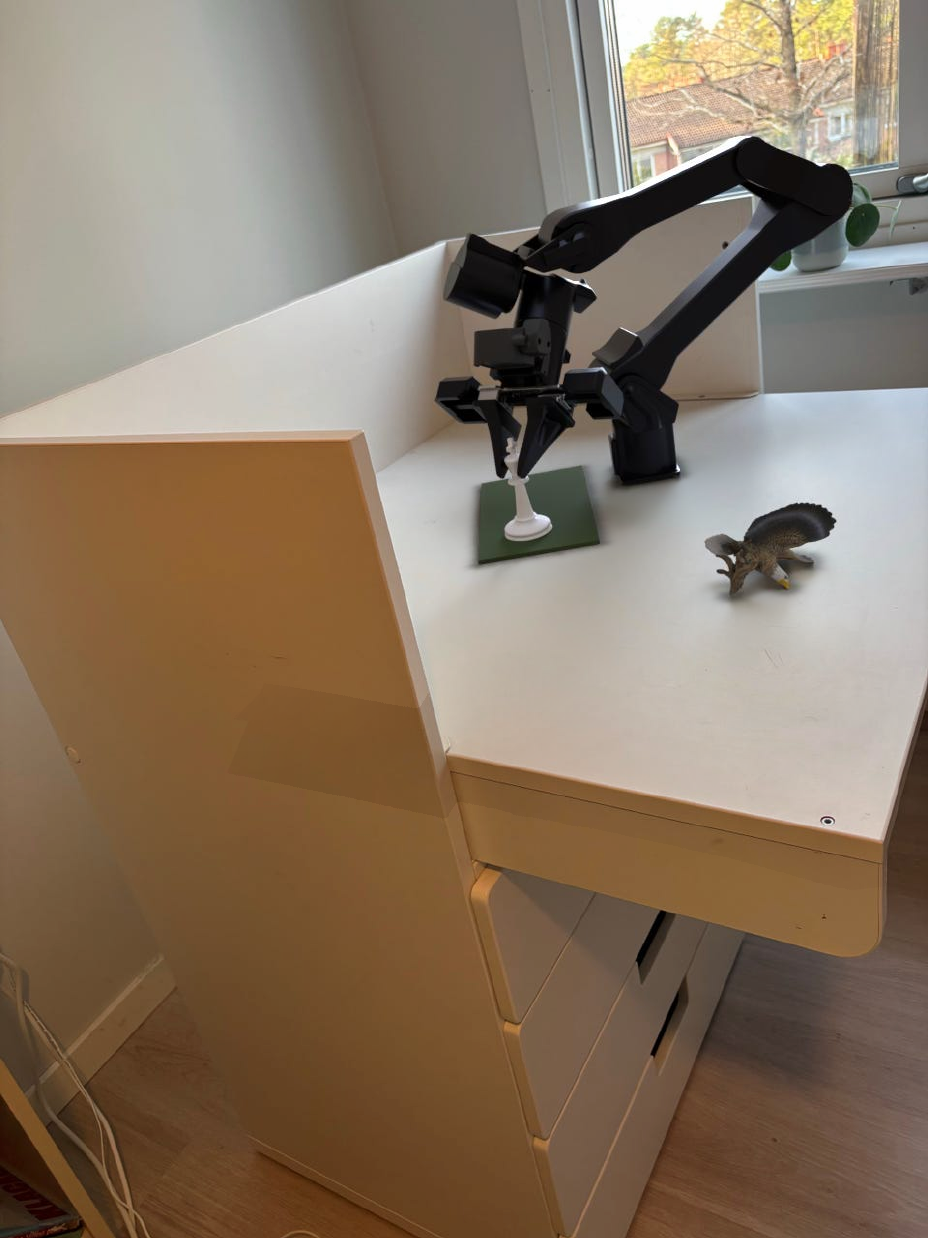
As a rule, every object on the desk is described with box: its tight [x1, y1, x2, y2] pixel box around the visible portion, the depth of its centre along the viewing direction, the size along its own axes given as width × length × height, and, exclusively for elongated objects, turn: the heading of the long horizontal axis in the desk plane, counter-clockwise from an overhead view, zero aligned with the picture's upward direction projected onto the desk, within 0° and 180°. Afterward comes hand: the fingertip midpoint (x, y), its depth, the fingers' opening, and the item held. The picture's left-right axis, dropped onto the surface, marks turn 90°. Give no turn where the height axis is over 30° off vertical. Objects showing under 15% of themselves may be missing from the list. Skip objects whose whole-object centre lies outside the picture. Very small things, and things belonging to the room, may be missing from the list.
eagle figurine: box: [703, 502, 838, 597], centre depth 76 cm, size 8×7×9 cm
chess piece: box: [504, 438, 552, 541], centre depth 93 cm, size 5×5×10 cm
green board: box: [477, 465, 601, 565], centre depth 100 cm, size 12×22×1 cm, turn 178°
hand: (510, 477), depth 91 cm, fingers closed on chess piece, 2 cm apart
